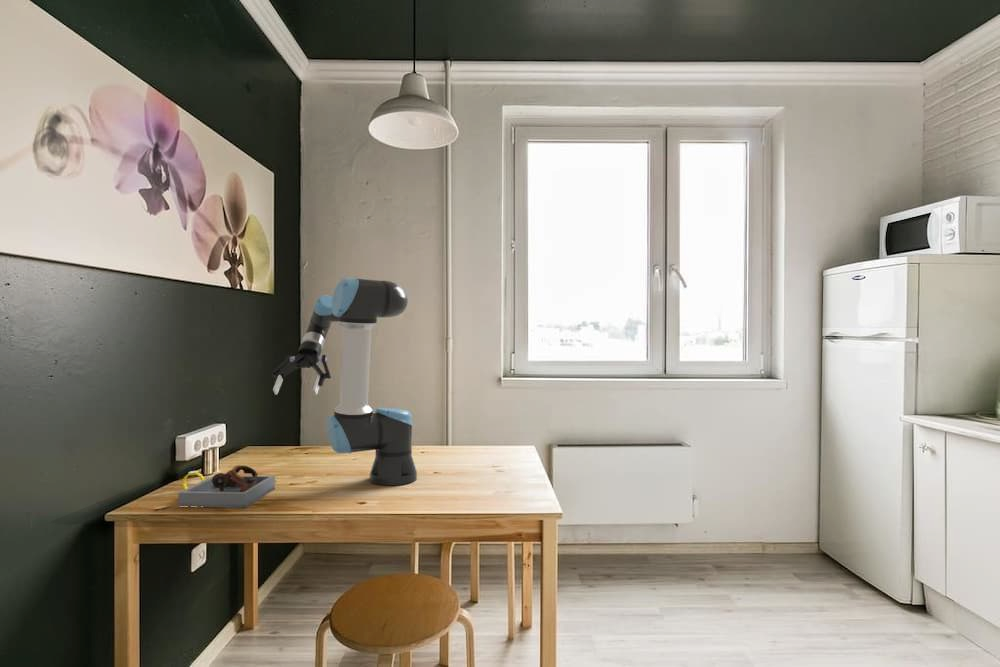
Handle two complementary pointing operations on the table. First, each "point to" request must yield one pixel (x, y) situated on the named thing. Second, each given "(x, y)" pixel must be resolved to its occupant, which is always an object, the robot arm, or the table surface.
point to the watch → (192, 474)
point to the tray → (225, 494)
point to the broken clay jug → (235, 478)
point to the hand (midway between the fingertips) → (294, 392)
